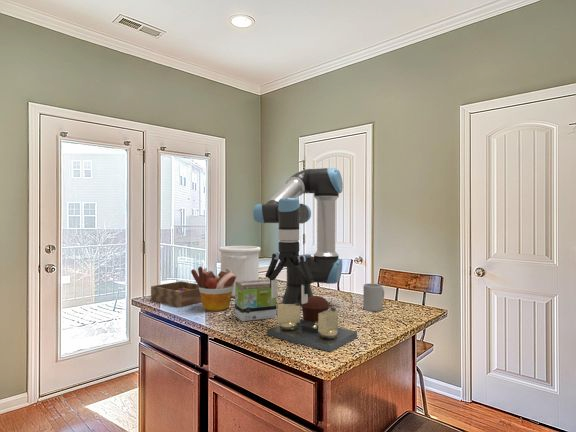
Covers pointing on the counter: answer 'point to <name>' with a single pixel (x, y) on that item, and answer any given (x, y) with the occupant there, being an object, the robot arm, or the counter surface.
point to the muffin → (314, 308)
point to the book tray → (176, 294)
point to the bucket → (241, 262)
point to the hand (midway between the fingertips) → (289, 300)
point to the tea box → (254, 300)
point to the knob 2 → (328, 323)
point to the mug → (373, 297)
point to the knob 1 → (288, 315)
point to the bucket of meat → (214, 288)
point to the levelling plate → (312, 336)
